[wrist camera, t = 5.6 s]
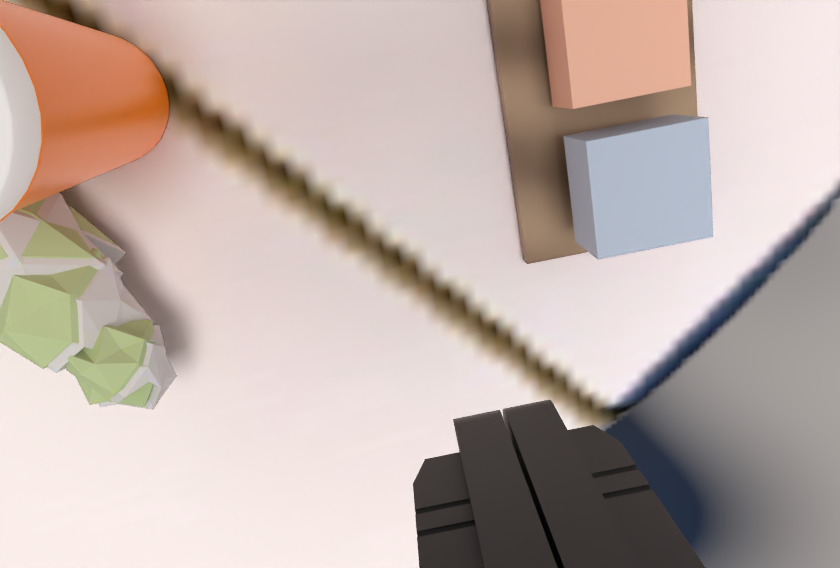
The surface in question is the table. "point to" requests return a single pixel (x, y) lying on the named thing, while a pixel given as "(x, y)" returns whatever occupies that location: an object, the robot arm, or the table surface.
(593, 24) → the button terracotta
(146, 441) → the table surface
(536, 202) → the board
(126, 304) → the decorative object
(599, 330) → the table surface
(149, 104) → the shaker bottle
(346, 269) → the table surface
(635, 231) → the button slate
